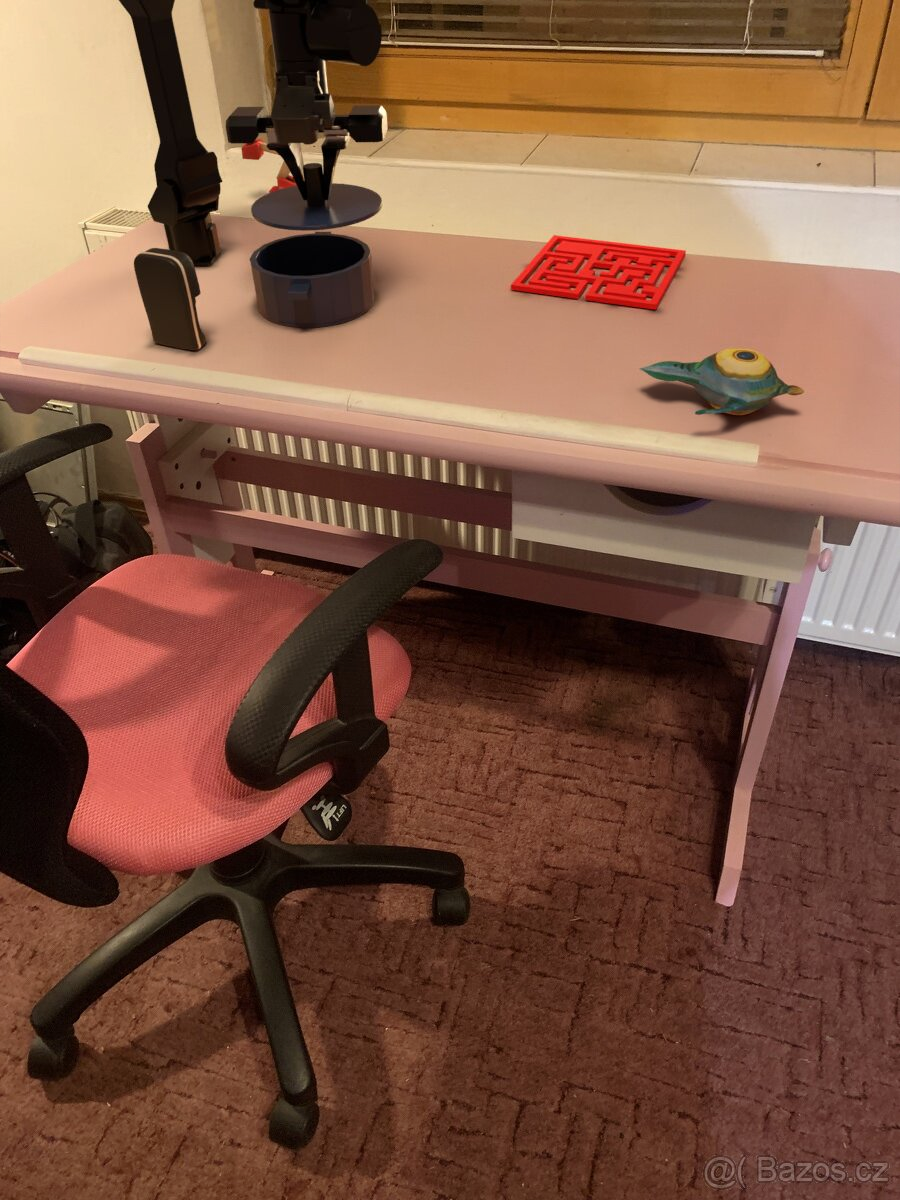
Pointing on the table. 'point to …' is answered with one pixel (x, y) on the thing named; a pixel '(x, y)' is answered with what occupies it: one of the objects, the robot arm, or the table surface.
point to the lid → (316, 204)
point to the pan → (313, 279)
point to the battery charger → (170, 297)
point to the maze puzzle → (615, 288)
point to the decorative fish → (728, 380)
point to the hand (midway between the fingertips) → (316, 199)
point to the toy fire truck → (255, 153)
